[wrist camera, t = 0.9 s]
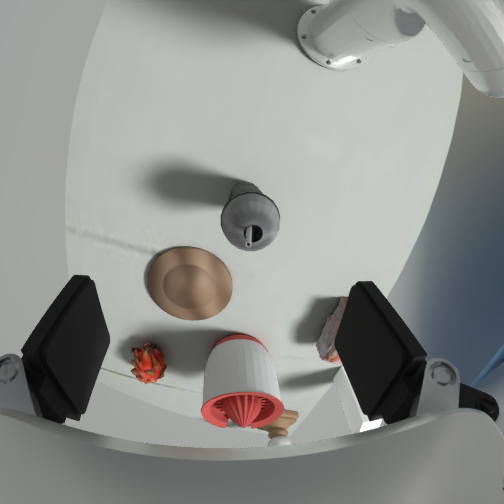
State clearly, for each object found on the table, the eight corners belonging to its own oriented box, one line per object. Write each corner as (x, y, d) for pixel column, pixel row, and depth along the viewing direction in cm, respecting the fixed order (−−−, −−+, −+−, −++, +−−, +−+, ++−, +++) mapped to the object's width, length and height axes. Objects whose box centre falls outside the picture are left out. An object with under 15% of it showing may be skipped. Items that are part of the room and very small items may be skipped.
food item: (339, 342, 61) (352, 372, 53) (311, 340, 60) (321, 372, 51) (365, 298, 56) (384, 327, 47) (334, 293, 54) (351, 325, 45)
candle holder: (270, 406, 73) (281, 475, 52) (298, 411, 76) (312, 475, 55) (252, 421, 77) (258, 484, 56) (279, 425, 80) (288, 484, 59)
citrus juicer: (203, 373, 63) (200, 443, 45) (205, 323, 55) (200, 405, 37) (264, 376, 65) (274, 444, 47) (279, 328, 57) (296, 406, 39)
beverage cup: (244, 225, 46) (254, 297, 28) (213, 194, 43) (201, 252, 25) (277, 196, 44) (310, 253, 26) (246, 163, 41) (260, 199, 23)
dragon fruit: (149, 363, 62) (151, 327, 59) (173, 382, 59) (178, 346, 56) (124, 376, 55) (124, 339, 52) (148, 398, 52) (150, 362, 48)
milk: (349, 377, 70) (373, 440, 50) (332, 378, 69) (353, 444, 49) (359, 364, 67) (386, 429, 48) (341, 365, 66) (366, 433, 47)
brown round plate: (218, 237, 46) (218, 239, 45) (241, 308, 54) (241, 311, 53) (135, 258, 47) (134, 261, 46) (167, 322, 54) (166, 326, 53)
